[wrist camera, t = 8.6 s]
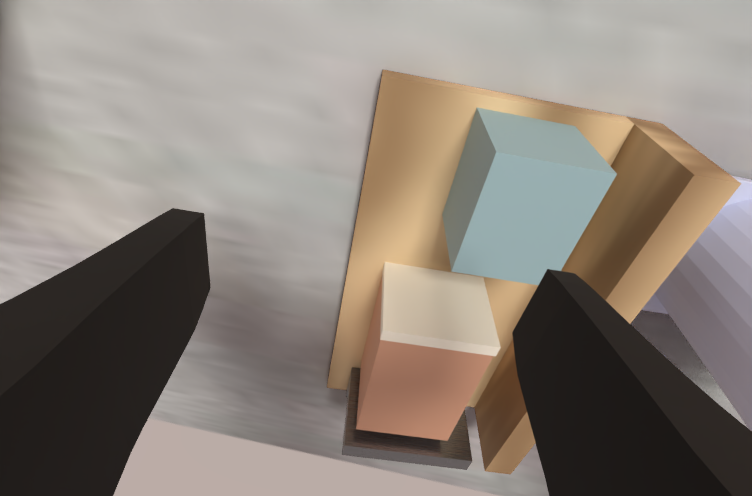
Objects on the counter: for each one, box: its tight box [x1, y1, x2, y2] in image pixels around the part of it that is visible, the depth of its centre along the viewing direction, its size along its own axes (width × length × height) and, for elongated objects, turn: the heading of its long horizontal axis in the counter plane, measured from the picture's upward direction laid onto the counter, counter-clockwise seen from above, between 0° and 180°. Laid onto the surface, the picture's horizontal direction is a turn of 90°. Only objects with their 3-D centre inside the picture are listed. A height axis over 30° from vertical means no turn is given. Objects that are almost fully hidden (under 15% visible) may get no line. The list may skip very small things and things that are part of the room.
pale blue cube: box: [442, 108, 617, 285], centre depth 17 cm, size 4×5×4 cm
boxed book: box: [356, 262, 501, 441], centre depth 22 cm, size 5×8×4 cm, turn 170°
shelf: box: [327, 70, 741, 474], centre depth 21 cm, size 12×20×5 cm, turn 170°
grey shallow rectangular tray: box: [342, 367, 472, 470], centre depth 26 cm, size 7×2×5 cm, turn 80°
